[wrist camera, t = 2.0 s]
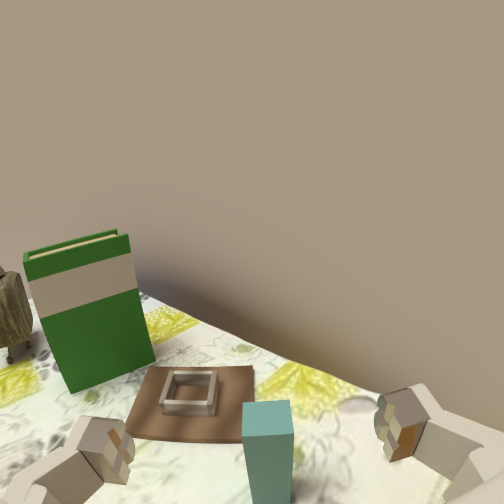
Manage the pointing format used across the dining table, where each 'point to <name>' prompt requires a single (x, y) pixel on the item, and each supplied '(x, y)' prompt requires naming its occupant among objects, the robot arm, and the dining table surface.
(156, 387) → the socket board
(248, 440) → the teal post
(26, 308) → the tabletop clock
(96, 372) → the hardback book
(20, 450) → the dining table surface
